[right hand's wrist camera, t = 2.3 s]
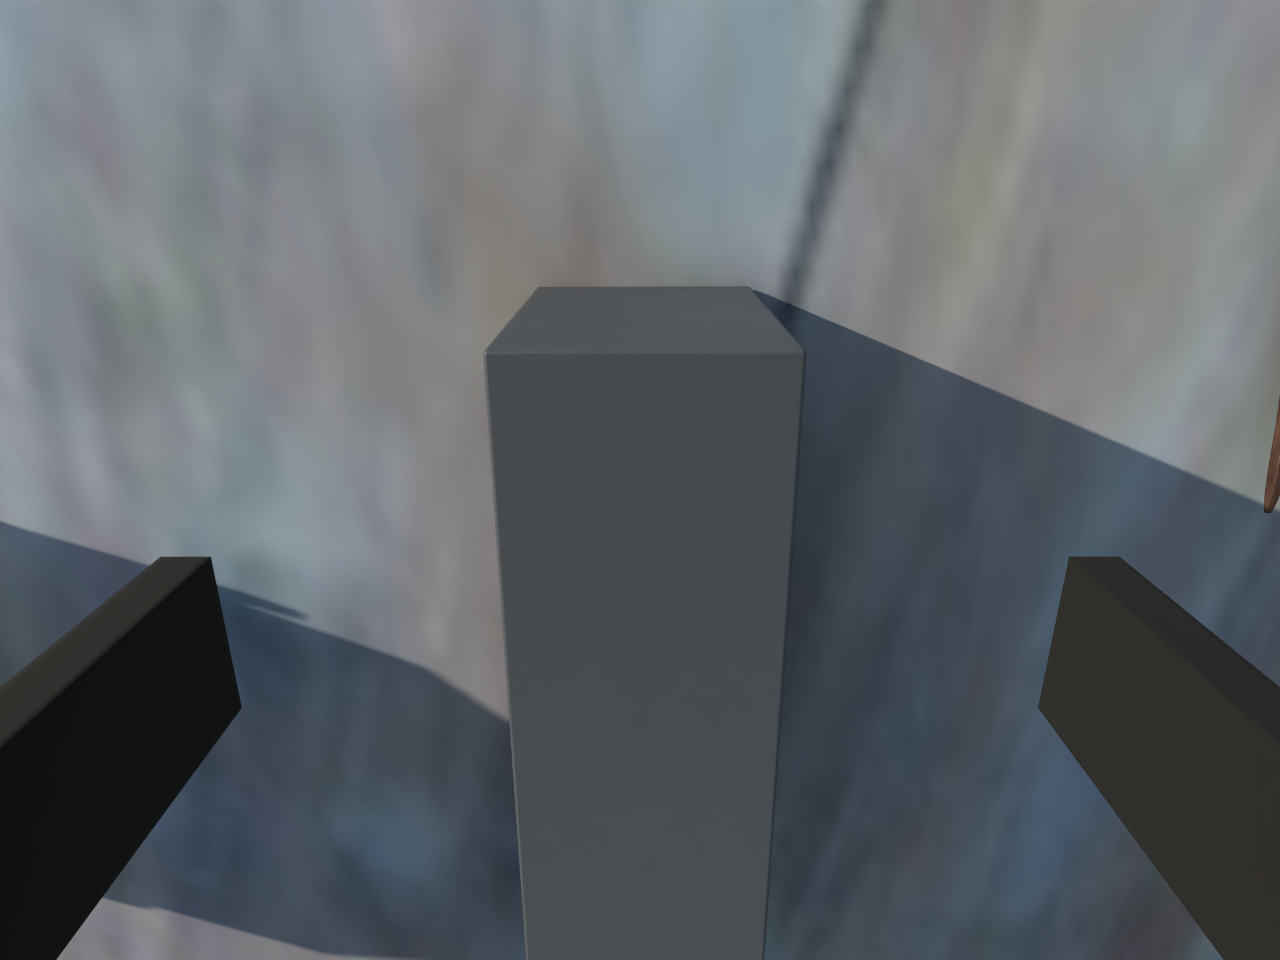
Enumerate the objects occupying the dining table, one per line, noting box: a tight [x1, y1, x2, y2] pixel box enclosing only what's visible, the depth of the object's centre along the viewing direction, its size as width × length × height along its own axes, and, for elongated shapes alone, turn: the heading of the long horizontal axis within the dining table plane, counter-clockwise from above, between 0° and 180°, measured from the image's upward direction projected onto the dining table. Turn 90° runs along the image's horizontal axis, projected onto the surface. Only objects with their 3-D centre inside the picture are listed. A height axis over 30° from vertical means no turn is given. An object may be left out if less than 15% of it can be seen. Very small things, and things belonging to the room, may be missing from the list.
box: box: [483, 287, 806, 960], centre depth 25 cm, size 27×6×9 cm, turn 0°
